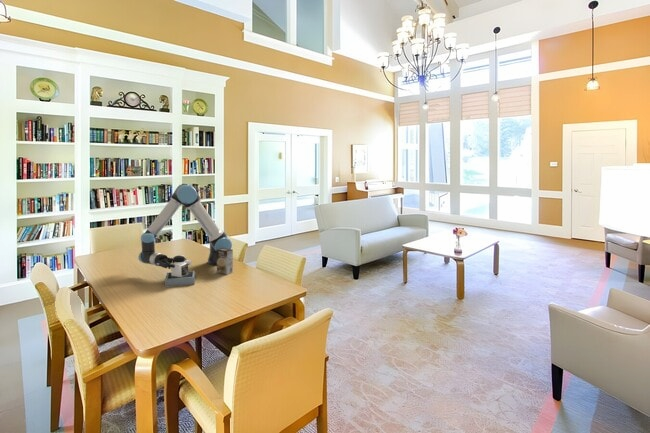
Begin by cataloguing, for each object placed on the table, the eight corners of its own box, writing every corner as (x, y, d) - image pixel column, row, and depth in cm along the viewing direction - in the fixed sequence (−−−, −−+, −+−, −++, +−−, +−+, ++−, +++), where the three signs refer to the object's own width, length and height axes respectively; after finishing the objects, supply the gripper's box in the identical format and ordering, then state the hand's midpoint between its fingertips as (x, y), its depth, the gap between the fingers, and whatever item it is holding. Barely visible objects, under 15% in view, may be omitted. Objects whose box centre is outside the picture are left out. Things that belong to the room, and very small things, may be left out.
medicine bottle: (181, 277, 215) (181, 257, 213) (171, 276, 217) (170, 256, 215) (188, 273, 222) (188, 255, 220) (178, 272, 223) (177, 254, 222)
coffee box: (216, 272, 240) (215, 249, 238) (222, 270, 246) (222, 247, 243) (227, 274, 236) (226, 251, 234) (233, 272, 242) (233, 249, 240)
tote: (194, 277, 229) (194, 270, 229) (194, 284, 216) (194, 277, 215) (167, 279, 224) (167, 272, 223) (165, 286, 211) (165, 279, 210)
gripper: (173, 261, 236) (198, 266, 226) (144, 269, 217) (171, 275, 207) (172, 250, 235) (198, 255, 225) (144, 257, 216) (170, 263, 206)
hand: (185, 265), depth 216 cm, fingers closed on medicine bottle, 8 cm apart
